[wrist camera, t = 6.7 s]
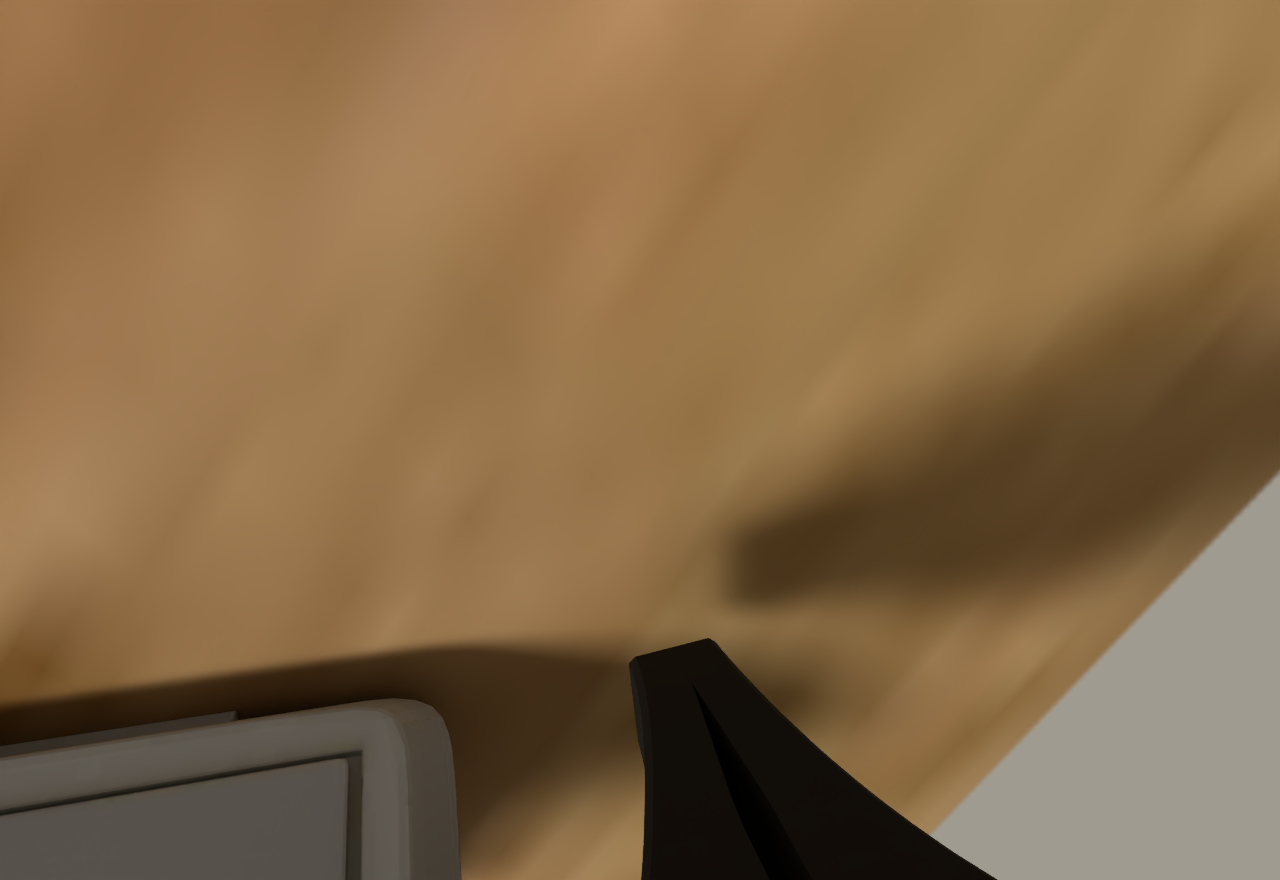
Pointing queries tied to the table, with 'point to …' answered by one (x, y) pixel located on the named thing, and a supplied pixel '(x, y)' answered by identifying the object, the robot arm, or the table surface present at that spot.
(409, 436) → the table surface
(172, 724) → the digital clock
